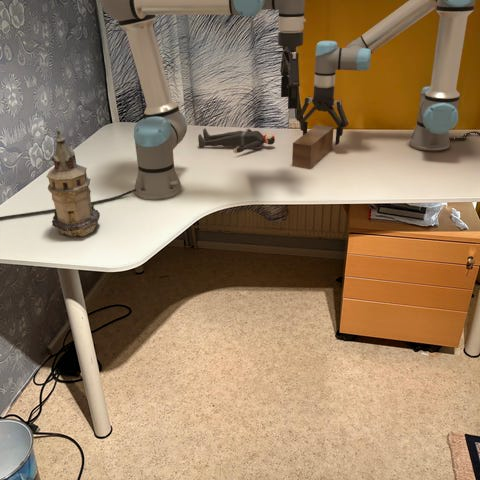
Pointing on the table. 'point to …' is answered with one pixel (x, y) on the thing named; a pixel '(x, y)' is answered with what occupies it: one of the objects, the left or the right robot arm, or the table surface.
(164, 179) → the left robot arm
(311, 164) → the box
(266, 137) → the toy
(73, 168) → the miniature building
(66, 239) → the table surface
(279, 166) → the table surface
